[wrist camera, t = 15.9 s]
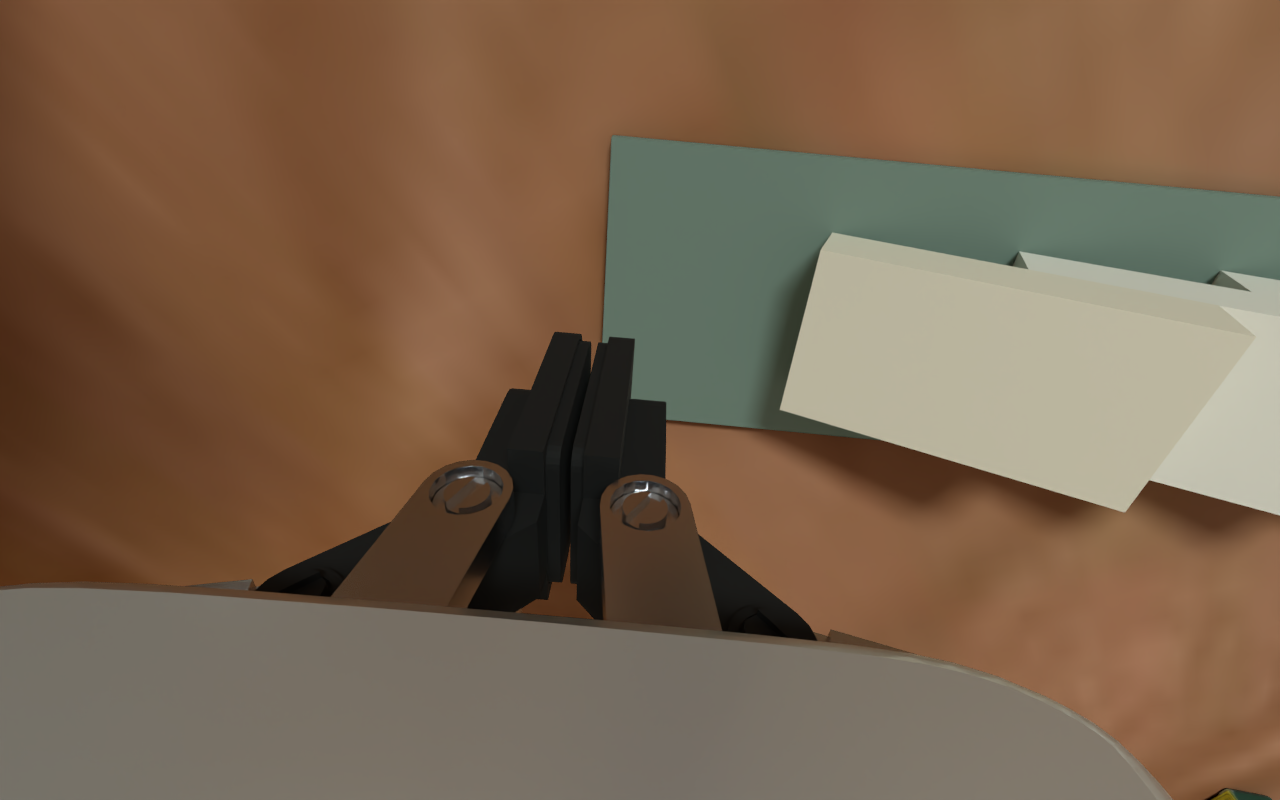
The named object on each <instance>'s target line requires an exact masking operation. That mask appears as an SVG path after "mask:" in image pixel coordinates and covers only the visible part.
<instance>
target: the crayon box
mask: <svg viewBox="0 0 1280 800" xmlns="http://www.w3.org/2000/svg"><path fill="white" fill-rule="evenodd" d="M1211 800H1272V799H1271V798H1270V797H1268V796H1264V795H1259V794H1254V793H1249V792H1244V791H1239V790H1232V789H1224V790H1222V791H1221V792H1219V794H1218V796H1216V797H1215V798H1213V799H1211Z"/></svg>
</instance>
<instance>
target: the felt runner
mask: <svg viewBox="0 0 1280 800" xmlns="http://www.w3.org/2000/svg"><path fill="white" fill-rule="evenodd" d="M832 232H833V233H838V234H843V235H848V236H854V237H859V238H864V239H870V240H875V241H880V242H886V243H891V244H896V245H901V246H907V247H912V248H917V249H923V250H928V251H933V252H939V253H944V254H949V255H954V256H960V257H965V258H970V259H976V260H981V261H986V262H992V263H997V264H1002V265H1007V266H1013V264H1014V262H1015V260H1016V257H1017V255H1018V253H1019V251H1021V252H1026V253H1032V254H1038V255H1043V256H1049V257H1055V258H1061V259H1066V260H1072V261H1078V262H1083V263H1089V264H1095V265H1101V266H1106V267H1112V268H1118V269H1123V270H1129V271H1135V272H1141V273H1146V274H1152V275H1158V276H1164V277H1169V278H1175V279H1181V280H1186V281H1192V282H1198V283H1204V284H1209V285H1211V284H1212V283H1213V281H1214V280H1215V278H1216V277H1217V275H1218V274H1219V272H1220V271H1227V272H1233V273H1239V274H1245V275H1251V276H1257V277H1263V278H1269V279H1275V280H1280V197H1277V196H1266V195H1255V194H1244V193H1233V192H1223V191H1212V190H1201V189H1190V188H1179V187H1169V186H1158V185H1147V184H1136V183H1125V182H1114V181H1104V180H1093V179H1082V178H1071V177H1060V176H1049V175H1039V174H1028V173H1017V172H1006V171H995V170H985V169H974V168H963V167H952V166H941V165H930V164H920V163H909V162H898V161H887V160H876V159H865V158H855V157H844V156H833V155H822V154H811V153H801V152H790V151H779V150H768V149H757V148H746V147H736V146H725V145H714V144H703V143H692V142H681V141H671V140H660V139H649V138H638V137H627V136H617V135H613V136H612V139H611V162H610V184H609V206H608V228H607V251H606V273H605V295H604V318H603V340H602V343H608V340H609V337H621V338H633V339H635V349H634V362H633V376H632V390H631V399H641V400H653V401H664V402H666V420H675V421H686V422H696V423H706V424H717V425H727V426H738V427H748V428H758V429H769V430H779V431H789V432H800V433H810V434H821V435H831V436H841V437H852V438H862V439H873V440H880V439H876V438H873V437H870V436H866V435H863V434H860V433H856V432H853V431H850V430H846V429H843V428H840V427H836V426H833V425H829V424H826V423H823V422H819V421H816V420H813V419H809V418H806V417H803V416H799V415H796V414H793V413H789V412H786V411H782V410H780V406H781V402H782V399H783V395H784V391H785V387H786V383H787V379H788V375H789V371H790V367H791V364H792V360H793V356H794V352H795V348H796V344H797V340H798V336H799V332H800V328H801V325H802V321H803V317H804V313H805V309H806V305H807V301H808V297H809V293H810V289H811V286H812V282H813V278H814V274H815V270H816V266H817V262H818V258H819V254H820V250H821V249H822V247H823V246H824V244H825V243H826V241H827V240H828V238H829V237H830V235H831V234H832Z"/></svg>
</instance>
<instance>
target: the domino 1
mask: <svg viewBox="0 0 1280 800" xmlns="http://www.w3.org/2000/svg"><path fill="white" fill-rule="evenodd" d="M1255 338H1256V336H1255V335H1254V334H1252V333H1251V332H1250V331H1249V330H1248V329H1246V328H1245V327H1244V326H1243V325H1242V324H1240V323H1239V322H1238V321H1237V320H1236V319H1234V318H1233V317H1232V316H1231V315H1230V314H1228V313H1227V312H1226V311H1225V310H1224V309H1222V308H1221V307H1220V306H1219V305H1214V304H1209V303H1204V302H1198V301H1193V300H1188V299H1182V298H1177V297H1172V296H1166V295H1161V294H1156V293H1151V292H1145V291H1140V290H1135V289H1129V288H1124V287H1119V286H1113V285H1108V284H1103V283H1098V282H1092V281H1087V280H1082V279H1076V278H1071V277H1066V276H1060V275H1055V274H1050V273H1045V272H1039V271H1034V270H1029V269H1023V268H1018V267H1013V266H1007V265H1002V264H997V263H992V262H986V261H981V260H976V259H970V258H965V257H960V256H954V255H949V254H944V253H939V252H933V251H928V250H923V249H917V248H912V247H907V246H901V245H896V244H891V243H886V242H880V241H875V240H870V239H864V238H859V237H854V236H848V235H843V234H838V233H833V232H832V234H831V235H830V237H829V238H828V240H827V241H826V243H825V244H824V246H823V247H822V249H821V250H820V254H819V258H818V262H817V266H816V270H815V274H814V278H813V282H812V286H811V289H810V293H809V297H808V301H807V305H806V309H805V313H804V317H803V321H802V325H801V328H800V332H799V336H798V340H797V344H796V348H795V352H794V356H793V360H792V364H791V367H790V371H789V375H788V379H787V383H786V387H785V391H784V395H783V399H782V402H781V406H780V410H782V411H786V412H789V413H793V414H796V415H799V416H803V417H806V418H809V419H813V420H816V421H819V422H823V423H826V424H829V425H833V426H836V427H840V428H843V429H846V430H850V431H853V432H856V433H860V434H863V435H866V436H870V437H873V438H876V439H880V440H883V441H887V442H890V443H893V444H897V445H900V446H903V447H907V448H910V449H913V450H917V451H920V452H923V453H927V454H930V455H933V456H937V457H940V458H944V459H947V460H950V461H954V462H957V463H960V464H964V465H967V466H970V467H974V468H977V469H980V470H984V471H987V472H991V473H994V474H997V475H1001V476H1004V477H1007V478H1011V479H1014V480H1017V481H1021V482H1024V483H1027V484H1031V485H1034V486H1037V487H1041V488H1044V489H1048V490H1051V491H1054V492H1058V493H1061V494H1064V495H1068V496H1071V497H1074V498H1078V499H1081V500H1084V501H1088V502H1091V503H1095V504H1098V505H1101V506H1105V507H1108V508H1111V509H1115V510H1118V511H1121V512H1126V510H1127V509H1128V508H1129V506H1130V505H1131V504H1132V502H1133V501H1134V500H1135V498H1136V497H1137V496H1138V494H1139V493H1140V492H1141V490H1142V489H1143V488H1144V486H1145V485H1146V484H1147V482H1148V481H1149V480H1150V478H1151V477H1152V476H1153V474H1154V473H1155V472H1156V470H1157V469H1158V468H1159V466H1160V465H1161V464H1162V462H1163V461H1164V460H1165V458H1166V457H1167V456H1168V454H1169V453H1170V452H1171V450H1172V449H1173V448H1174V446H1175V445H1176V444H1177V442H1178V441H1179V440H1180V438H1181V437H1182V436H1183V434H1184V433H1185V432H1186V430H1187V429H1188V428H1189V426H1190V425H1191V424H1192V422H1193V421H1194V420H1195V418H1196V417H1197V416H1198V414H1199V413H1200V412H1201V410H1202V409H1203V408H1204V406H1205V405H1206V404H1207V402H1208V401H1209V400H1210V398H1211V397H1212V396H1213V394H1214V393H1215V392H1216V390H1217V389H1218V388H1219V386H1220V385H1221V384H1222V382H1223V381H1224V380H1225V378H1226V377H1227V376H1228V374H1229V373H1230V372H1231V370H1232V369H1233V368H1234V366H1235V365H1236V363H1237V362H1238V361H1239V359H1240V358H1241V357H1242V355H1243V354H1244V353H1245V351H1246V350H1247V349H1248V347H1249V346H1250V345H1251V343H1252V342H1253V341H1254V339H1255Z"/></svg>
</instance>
